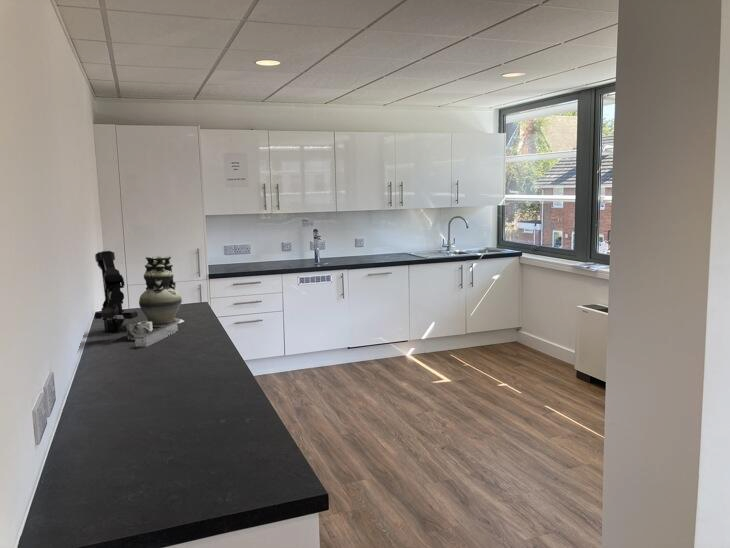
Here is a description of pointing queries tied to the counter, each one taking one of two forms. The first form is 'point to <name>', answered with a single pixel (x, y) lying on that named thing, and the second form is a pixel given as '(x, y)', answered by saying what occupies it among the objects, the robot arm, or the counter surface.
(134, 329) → the rock
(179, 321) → the decorative urn
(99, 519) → the counter surface
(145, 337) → the bracket
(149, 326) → the module
